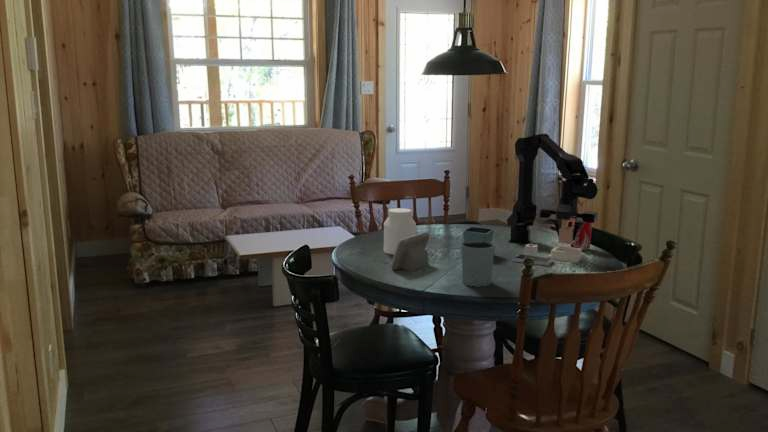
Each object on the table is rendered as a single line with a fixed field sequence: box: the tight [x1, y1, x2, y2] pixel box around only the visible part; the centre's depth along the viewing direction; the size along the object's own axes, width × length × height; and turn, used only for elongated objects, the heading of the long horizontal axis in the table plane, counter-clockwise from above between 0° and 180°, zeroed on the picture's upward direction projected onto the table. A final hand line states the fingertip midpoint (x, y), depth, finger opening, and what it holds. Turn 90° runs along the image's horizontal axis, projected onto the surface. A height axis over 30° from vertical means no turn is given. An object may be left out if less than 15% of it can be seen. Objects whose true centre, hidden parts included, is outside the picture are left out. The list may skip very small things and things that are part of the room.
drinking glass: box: [460, 241, 496, 288], centre depth 201 cm, size 10×10×12 cm
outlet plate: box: [547, 245, 585, 263], centre depth 232 cm, size 10×10×3 cm
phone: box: [512, 253, 554, 267], centre depth 226 cm, size 12×6×1 cm, turn 60°
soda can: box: [570, 218, 592, 251], centre depth 243 cm, size 7×7×12 cm
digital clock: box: [390, 231, 430, 272], centre depth 220 cm, size 16×9×11 cm, turn 132°
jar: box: [383, 207, 417, 256], centre depth 239 cm, size 12×10×15 cm
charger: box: [558, 225, 575, 245], centre depth 231 cm, size 4×4×5 cm
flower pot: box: [462, 226, 494, 243], centre depth 235 cm, size 9×9×9 cm
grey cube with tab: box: [523, 243, 539, 257], centre depth 233 cm, size 4×4×4 cm
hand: (566, 239), depth 231 cm, fingers closed on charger, 4 cm apart
